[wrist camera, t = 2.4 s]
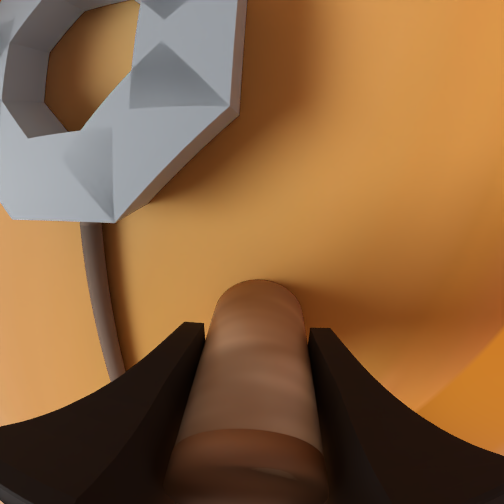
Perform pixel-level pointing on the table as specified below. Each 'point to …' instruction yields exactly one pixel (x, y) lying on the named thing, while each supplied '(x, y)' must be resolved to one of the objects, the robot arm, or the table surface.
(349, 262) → the table surface
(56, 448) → the robot arm
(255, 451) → the needle dowel
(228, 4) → the bead ring
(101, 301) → the brown thin rod
